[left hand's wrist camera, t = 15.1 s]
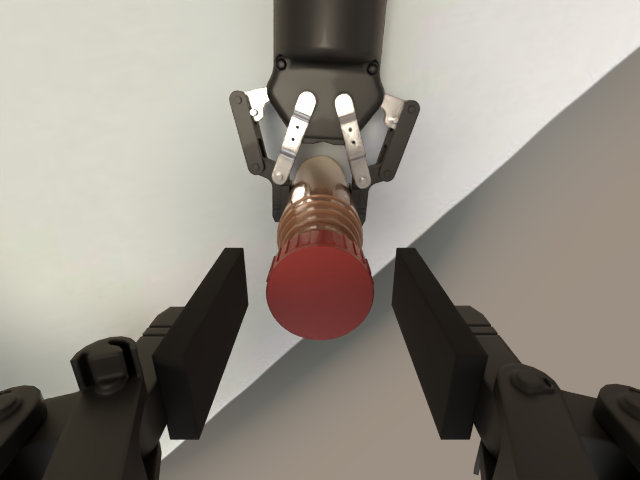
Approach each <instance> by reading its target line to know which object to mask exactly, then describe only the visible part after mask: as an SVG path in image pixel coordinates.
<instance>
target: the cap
mask: <svg viewBox="0 0 640 480" xmlns="http://www.w3.org/2000/svg"><path fill="white" fill-rule="evenodd" d="M266 282H267V288H266V298H267V303H268V306H269V309H270V311H271V313H272V315H273V317H274V318H275V319H276V321H277V322H278V323H279V324H280V325H281V326H282V327H284V328H285V329H286V330H288V331H289V332H291V333H293V334H295V335H297V336H300V337H303V338H307V339H313V340H327V339H333V338H337V337H340V336H343V335H345V334H347V333H349V332H351V331H352V330H354V329H355V328H356V327H358V326H359V325H360V324H361V323H362V322H363V321H364V319H365V318H366V317H367V315H368V313H369V311H370V309H371V306H372V303H373V297H374V288H373V284H374V282H373V279H372V276H371V270H370V267H369V264H368V261H367V259H365V257H364V254H363V251H362V249H361V250H360V249H359V248H358V246H356V244H355V242H354V241H353V242H352V241H351V240H349V239H348V238H346V236H345V235H340V234H338V233H335V232H334V231H332V232H331V231H323V229H320V230H317V231H311V230H308V232H305V233H302V234H300V235H299V234H297V236H295V237H294V238H292V239H291V240H289V239H288V240H287V243H286V244H284V245H283V246H282V248H281V247H280V248H279V251H278V253H277V255H276V256H274V258H273V261H272V265H271V268H270V271H269V274H268V277H267V281H266Z"/></svg>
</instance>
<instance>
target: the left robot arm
mask: <svg viewBox="0 0 640 480" xmlns="http://www.w3.org/2000/svg"><path fill="white" fill-rule="evenodd" d="M247 307H248V294H247V283H246V272H245V261H244V249H243V248H225V249H224V250H223V252H222V253H221V255H220V256H219V258H218V259H217V260H216V262H215V263H214V265H213V266H212V268H211V269H210V271H209V272H208V274H207V275H206V277H205V278H204V280H203V281H202V282H201V284H200V285H199V287H198V288H197V290H196V291H195V293H194V294H193V296H192V297H191V299H190V300H189V301H188V303H187V304H186V306H185V307H169V308H168V309H166V310H165V311H164V312H162V313H161V314H159V315H158V316H157V317H156V318H155V319H154V321H153V322H152V323H151V324H150V326H149V328H147V329H146V331H145V332H144V333H143V336H142V337H140V338H139V340H138V341H137V342H135V341H134V340H132V339H131V338H128V337H123V336H120V337H110V338H106V339H102V340H99V341H96V342H94V343H92V344H90V345H88V346H86V347H84V348H83V349H82V350H80V351H79V352H77V353H76V354H75V356H74V357H73V358H72V359H71V361H70V362H71V365H72V368H73V371H74V374H75V377H76V380H77V383H78V386H79V389H80V390H79V391H78V392H75V393H71V394H67V395H62V396H58V397H54V398H49V399H45V400H44V399H43V397H42V394H41V392H40V390H39V389H37V388H36V387H35V386H26V385H24V386H18V387H13V388H9V389H6V390H4V391H1V392H0V480H159V473H160V463H161V454H162V453H161V446H160V441H159V439H160V437H161V435H162V433H163V431H164V429H165V427H166V425H167V427H168V432H169V436H170V440H199V438H200V435H201V433H202V430H203V427H204V425H205V422H206V419H207V416H208V414H209V411H210V408H211V405H212V403H213V400H214V397H215V395H216V392H217V389H218V386H219V384H220V381H221V378H222V375H223V373H224V370H225V367H226V364H227V362H228V359H229V356H230V354H231V351H232V348H233V345H234V343H235V340H236V337H237V334H238V332H239V329H240V326H241V323H242V321H243V318H244V315H245V313H246V310H247ZM392 307H393V310H394V312H395V315H396V318H397V321H398V323H399V326H400V329H401V332H402V334H403V337H404V340H405V343H406V345H407V348H408V351H409V354H410V356H411V359H412V362H413V364H414V367H415V370H416V373H417V375H418V378H419V381H420V383H421V386H422V389H423V392H424V394H425V397H426V400H427V403H428V405H429V408H430V411H431V414H432V416H433V419H434V422H435V425H436V427H437V430H438V433H439V436H440V438H441V440H443V439H444V440H469V439H470V436H471V432H472V427H473V423H474V425H475V427H476V429H477V431H478V433H479V435H480V437H481V441H480V446H479V450H478V454H477V458H476V462H475V467H474V474H476V475H478V474H479V470H480V471H481V480H640V390H639V389H636V388H633V387H630V386H625V385H619V384H610V385H605V386H604V387H603V388H601V389H600V392H599V394H598V397H597V398H593V397H589V396H584V395H580V394H575V393H571V392H567V391H563V390H560V388H559V387H558V385H557V384H556V382H555V381H554V380H553V379H551V378H550V377H549V376H548V375H546V374H545V373H543V372H542V371H540V370H538V369H536V368H534V367H531V366H527V365H524V364H522V363H521V362H520V361H519V360H518V358H517V357H516V356H515V355H514V353H513V352H512V351H511V350H510V348H509V347H508V346H507V344H506V343H505V342H504V341H503V339H502V338H501V337H500V336H499V335H498V333H497V332H496V331H495V329H494V328H493V327H491V324H490V323H489V322H488V320H487V319H486V318H485V317H484V315H483V314H481V313H480V312H478V311H477V310H475V309H474V308H472V307H471V306H454V304H453V303H452V302H451V300H450V299H449V297H448V296H447V294H446V293H445V291H444V290H443V288H442V287H441V285H440V284H439V282H438V281H437V280H436V278H435V277H434V275H433V274H432V272H431V271H430V269H429V268H428V266H427V265H426V263H425V262H424V260H423V259H422V258H421V256H420V255H419V253H418V252H417V250H416V249H415V248H397V249H396V261H395V272H394V283H393V295H392Z"/></svg>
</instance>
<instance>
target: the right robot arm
mask: <svg viewBox="0 0 640 480" xmlns="http://www.w3.org/2000/svg"><path fill="white" fill-rule="evenodd" d="M386 3H387V0H274V66H273V72H272V75H271V77H270V79H269V81H268V83H267V87H266V88H262V89H257V90H253V91H248V92H242V91H234V92H232V93H231V95H230V98H229V101H230V105H231V108H232V112H233V115H234V119H235V123H236V126H237V130H238V134H239V137H240V141H241V144H242V148H243V152H244V155H245V159H246V163H247V166H248V170H249V171H250V172H251V173H252V174H254V175H260V176H263V177H265V178H267V179H269V180H270V182H271V183H272V187H273V218H274V221H275V222H280V219H281V216H282V213H283V210H284V207H285V205H286V202H287V199H288V196H289V194H290V191H291V188H292V180H289V174H290V172H291V169H292V166H293V164H294V161H295V158H296V156H297V153H298V151H299V148H300V146H301V143H307V144H314V143H318V142H327V143H330V144H333V145H344V147H345V151H346V155H347V158H348V161H349V165H350V169H351V173H352V184H351V183H349V191H350V194H351V196H352V199H353V202H354V205H355V208H356V210H357V213H358V216H359V219H360V222H361V225H362V226H363V224H364V222H365V218H366V208H367V198H368V191H369V188H370V187H371V186H372V185H373V184H375V183H378V182H382V181H385V182H388V181H391V180H392V179H393V178H394V176H395V174H396V171H397V169H398V166H399V163H400V161H401V158H402V156H403V153H404V150H405V148H406V145H407V143H408V140H409V137H410V135H411V132H412V130H413V127H414V124H415V122H416V119H417V117H418V114H419V111H420V106H419V104H418V103H417V102H416V101H413V100H406V101H405V100H402V99H399V98H396V97H393V96H390V95H387V94H385V92H384V88H383V86H382V83H381V79H380V63H381V53H382V43H383V33H384V23H385V13H386ZM268 102H271V104H272V105H273V107H274V109H275V110H276V112H277V113H278V115H279V116H280V118H281V119H282V121H283V122H284V124H285V125H286V127H287V128H288V130H287V132H286V135H285V138H284V141H283V144H282V146H281V149H280V153H279V156H278V159H277V161H276V162H275V161H273V160H270V159H268V158H267V154H266V150H265V146H264V142H263V139H262V135H261V131H260V127H259V123H258V121H259V120H261V119H263V117H264V115H265V110H264V109H265V105H266V104H267V103H268ZM379 108H381V109H382V110H383V111H384V119H383V121H384V124H385V125H386V126H387V127H389V129H388V132H387V135H386V137H385V140H384V143H383V146H382V148H381V151H380V154H379V157H378V160H377V162H376V164H373V165H370V166H368V165H367V161H366V157H365V151H364V147H363V143H362V139H361V135H360V131H361V130H362V129H363V128H364V126H365V125H366V124H367V123H368V121H369V120H370V119H371V118H372V116H373V115H374V114H375V113H376V111H377V110H378V109H379Z"/></svg>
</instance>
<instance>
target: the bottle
mask: <svg viewBox="0 0 640 480" xmlns="http://www.w3.org/2000/svg"><path fill="white" fill-rule="evenodd" d="M320 229H323V231H331V232H332V231H334V232H335V233H338V234H340V235H345V236H346V238H348V239H349V240H351V241H352V242H353V241H354V242H355V244H356V246H358V248H359V249H360V250H361V249H362V244H363V230H362V225H361V222H360V219H359V216H358V213H357V210H356V208H355V205H354V202H353V199H352V196H351V194H350V191H349V188H348V185H347V182H346V180H345V177H344V174H343V171H342V169H341V167H340V166H339V165H338V163H337V162H335V161H334V160H333V159H331V158H328V157H325V156H315V157H312V158H309V159H307V160H306V161H305V162H304V163H302V165H301V166H300V167H299V169H298V171H297V174H296V177H295V180H294V182H293V185H292V188H291V191H290V194H289V196H288V199H287V202H286V205H285V207H284V210H283V213H282V216H281V219H280V222H279V225H278V230H277V244H278V250H279V248H280V247H281V248H282V246H283V245H284V244H286V243H287V240H288V239H289V240H291V239H292V238H294V237H295V236H297V234H299V235H300V234H302V233H305V232H308V230H311V231H317V230H320Z"/></svg>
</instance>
